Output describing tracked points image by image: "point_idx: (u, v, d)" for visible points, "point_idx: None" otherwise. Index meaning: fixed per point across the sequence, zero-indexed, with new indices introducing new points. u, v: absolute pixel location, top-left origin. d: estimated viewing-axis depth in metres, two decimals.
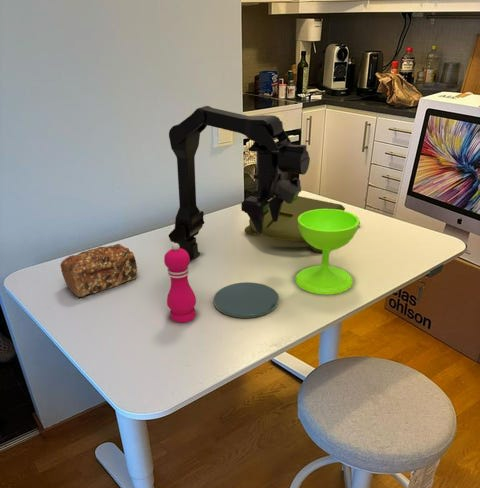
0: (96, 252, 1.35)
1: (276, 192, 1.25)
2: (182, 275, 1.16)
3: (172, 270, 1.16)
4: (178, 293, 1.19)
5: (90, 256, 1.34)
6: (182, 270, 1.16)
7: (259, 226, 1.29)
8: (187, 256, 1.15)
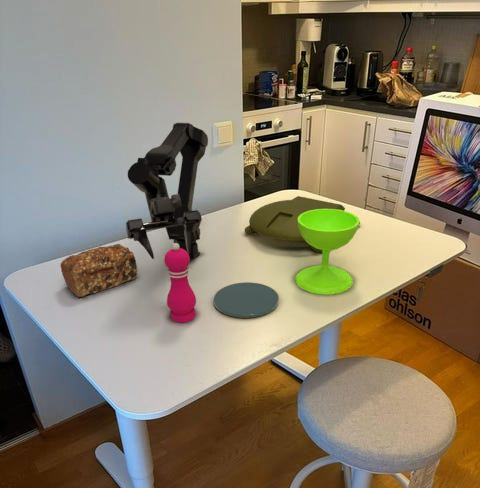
0: (96, 252, 1.35)
1: (151, 210, 1.21)
2: (182, 275, 1.16)
3: (172, 270, 1.16)
4: (177, 293, 1.19)
5: (90, 256, 1.34)
6: (182, 270, 1.16)
7: (147, 250, 1.23)
8: (187, 256, 1.15)
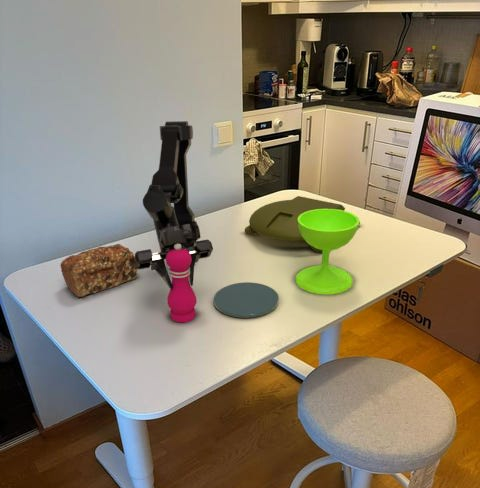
0: (96, 252, 1.35)
1: (161, 240, 1.17)
2: (183, 275, 1.16)
3: (173, 270, 1.16)
4: (178, 293, 1.19)
5: (90, 256, 1.34)
6: (183, 270, 1.16)
7: (166, 280, 1.18)
8: (189, 256, 1.15)
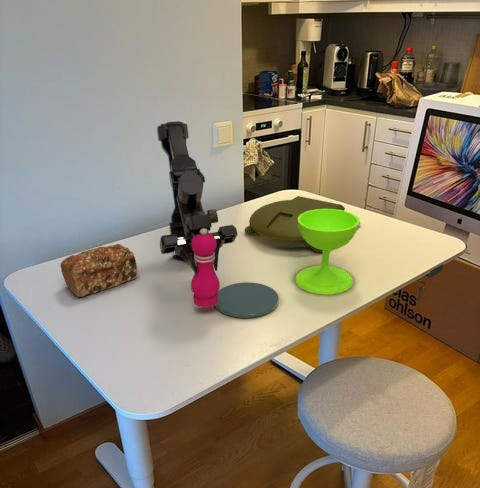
0: (96, 252, 1.35)
1: (186, 225, 1.17)
2: (208, 260, 1.17)
3: (199, 254, 1.16)
4: (202, 278, 1.19)
5: (90, 256, 1.34)
6: (208, 255, 1.17)
7: (191, 265, 1.19)
8: (214, 241, 1.16)
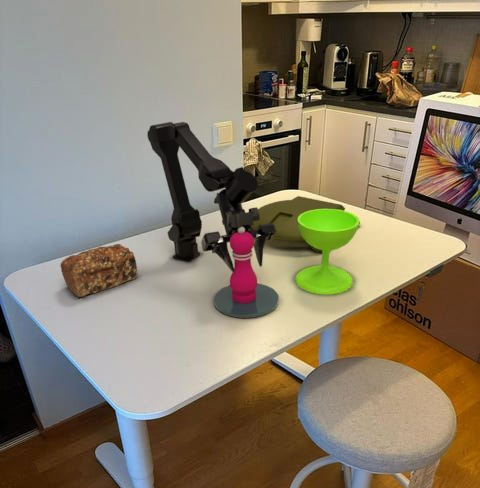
0: (96, 252, 1.35)
1: (228, 223, 1.21)
2: (247, 257, 1.21)
3: (237, 253, 1.20)
4: (241, 275, 1.23)
5: (90, 256, 1.34)
6: (247, 252, 1.20)
7: (227, 262, 1.22)
8: (252, 239, 1.19)
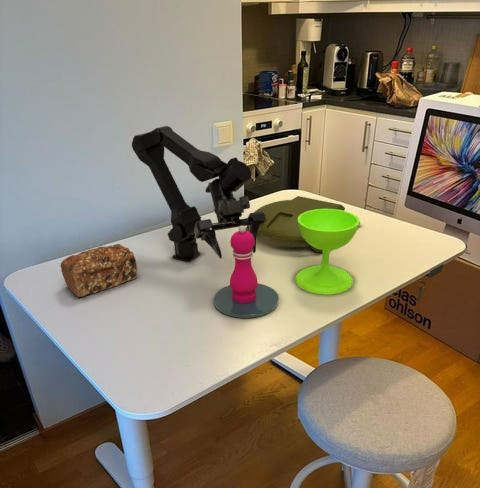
0: (96, 252, 1.35)
1: (220, 211, 1.26)
2: (247, 257, 1.21)
3: (238, 252, 1.20)
4: (242, 275, 1.23)
5: (90, 256, 1.34)
6: (247, 252, 1.21)
7: (216, 249, 1.27)
8: (253, 238, 1.20)
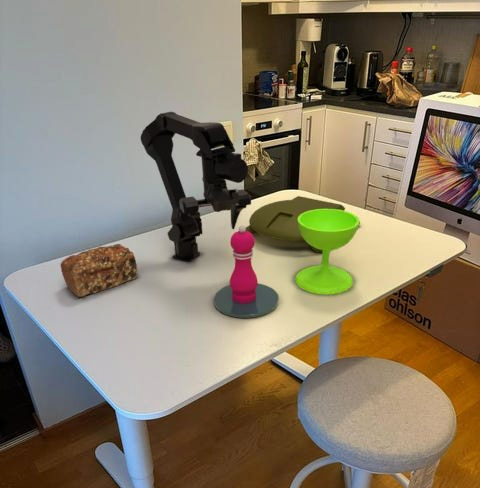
0: (96, 252, 1.35)
1: (208, 198, 1.28)
2: (247, 257, 1.21)
3: (238, 252, 1.20)
4: (242, 275, 1.23)
5: (90, 256, 1.34)
6: (247, 252, 1.21)
7: (197, 227, 1.34)
8: (253, 238, 1.20)
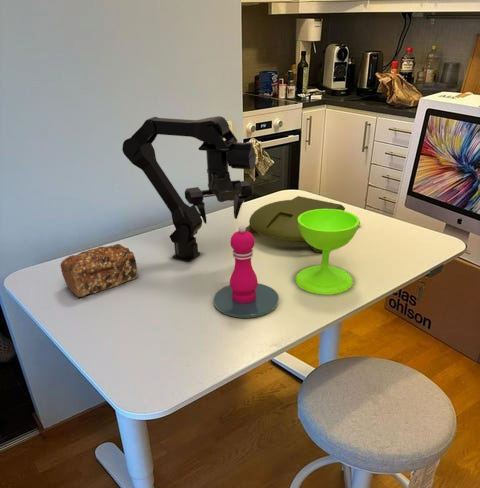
0: (96, 252, 1.35)
1: (213, 188, 1.34)
2: (247, 257, 1.21)
3: (238, 252, 1.20)
4: (242, 275, 1.23)
5: (90, 256, 1.34)
6: (247, 252, 1.21)
7: (202, 216, 1.41)
8: (253, 238, 1.20)
